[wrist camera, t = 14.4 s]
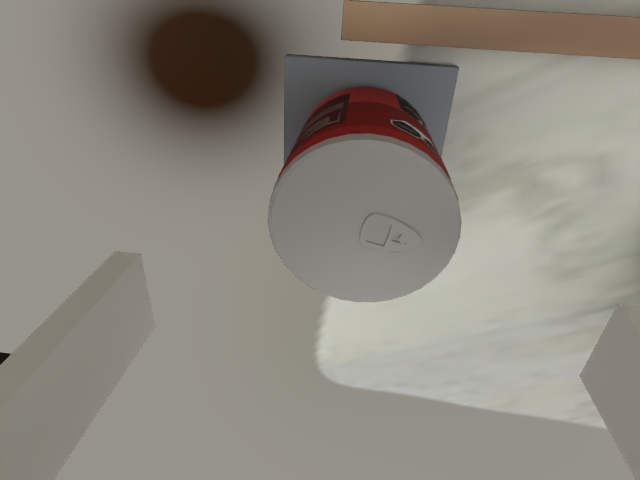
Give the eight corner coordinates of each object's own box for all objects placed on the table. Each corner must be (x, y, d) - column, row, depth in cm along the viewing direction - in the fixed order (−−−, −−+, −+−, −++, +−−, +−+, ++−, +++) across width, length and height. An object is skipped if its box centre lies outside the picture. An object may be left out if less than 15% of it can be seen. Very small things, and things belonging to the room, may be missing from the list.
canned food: (423, 201, 28) (452, 306, 18) (305, 201, 29) (275, 302, 19) (434, 80, 24) (477, 136, 15) (297, 85, 25) (254, 139, 15)
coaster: (287, 54, 25) (284, 56, 24) (455, 65, 25) (458, 67, 24) (286, 204, 30) (283, 210, 29) (425, 216, 30) (427, 223, 29)
